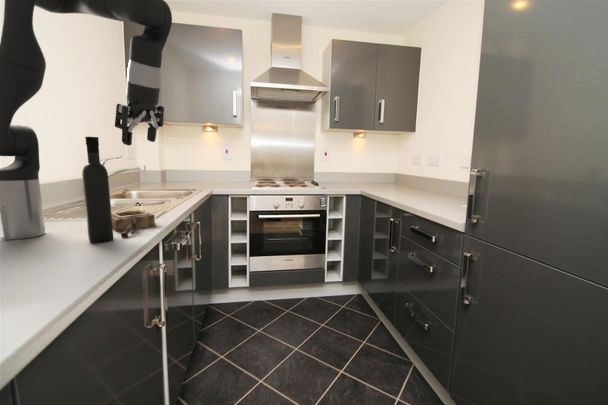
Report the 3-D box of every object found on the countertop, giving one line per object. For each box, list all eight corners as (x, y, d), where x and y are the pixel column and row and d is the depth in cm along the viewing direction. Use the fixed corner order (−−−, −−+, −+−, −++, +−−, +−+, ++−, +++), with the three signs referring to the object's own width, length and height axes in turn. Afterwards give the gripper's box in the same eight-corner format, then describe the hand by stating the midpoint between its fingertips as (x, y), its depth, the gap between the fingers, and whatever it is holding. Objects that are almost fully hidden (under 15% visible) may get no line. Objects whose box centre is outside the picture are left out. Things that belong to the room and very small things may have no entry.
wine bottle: (88, 239, 86) (78, 136, 82) (111, 236, 90) (102, 137, 85) (90, 244, 82) (79, 135, 77) (114, 241, 86) (105, 137, 81)
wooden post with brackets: (140, 228, 98) (136, 217, 95) (130, 244, 91) (126, 232, 89) (134, 228, 98) (131, 217, 95) (124, 244, 91) (120, 232, 89)
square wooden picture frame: (116, 231, 96) (115, 218, 95) (106, 225, 104) (105, 212, 103) (154, 226, 104) (154, 213, 104) (143, 220, 112) (142, 208, 112)
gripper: (152, 80, 82) (147, 136, 88) (107, 75, 69) (105, 141, 75) (174, 88, 81) (168, 144, 87) (134, 84, 68) (129, 150, 74)
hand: (139, 142), depth 81 cm, fingers open, 8 cm apart
